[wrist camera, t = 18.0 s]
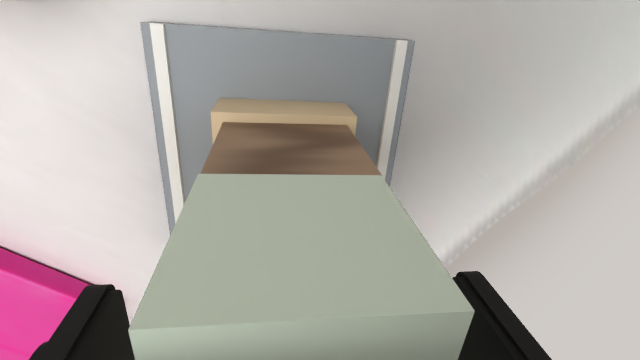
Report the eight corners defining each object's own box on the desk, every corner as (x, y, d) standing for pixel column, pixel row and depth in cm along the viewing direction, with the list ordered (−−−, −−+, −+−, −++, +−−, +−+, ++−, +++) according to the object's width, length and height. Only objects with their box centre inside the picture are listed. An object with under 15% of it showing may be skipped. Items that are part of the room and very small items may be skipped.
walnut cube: (347, 124, 17) (382, 175, 12) (336, 226, 20) (362, 306, 14) (222, 122, 16) (199, 175, 11) (229, 228, 19) (213, 314, 13)
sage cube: (380, 175, 12) (474, 310, 6) (360, 306, 14) (414, 481, 9) (197, 173, 11) (128, 330, 5) (210, 313, 13) (171, 513, 8)
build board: (406, 39, 20) (439, 45, 16) (373, 240, 26) (391, 279, 22) (148, 21, 18) (115, 24, 14) (177, 244, 24) (160, 288, 20)
